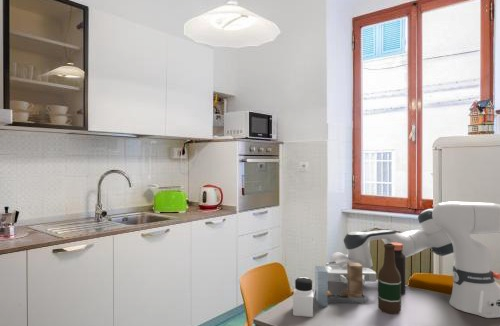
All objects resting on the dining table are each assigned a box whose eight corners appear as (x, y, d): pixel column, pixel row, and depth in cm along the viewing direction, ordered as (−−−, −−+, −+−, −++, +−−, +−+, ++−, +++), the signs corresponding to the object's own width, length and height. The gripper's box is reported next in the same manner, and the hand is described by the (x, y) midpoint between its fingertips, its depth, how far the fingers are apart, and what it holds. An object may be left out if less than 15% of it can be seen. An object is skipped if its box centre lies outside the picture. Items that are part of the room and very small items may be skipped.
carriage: (358, 293, 133) (358, 262, 133) (362, 297, 128) (362, 266, 128) (339, 293, 133) (339, 262, 133) (341, 297, 128) (341, 266, 128)
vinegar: (384, 289, 142) (384, 242, 142) (398, 288, 144) (397, 241, 144) (394, 295, 136) (394, 246, 136) (409, 294, 138) (409, 245, 138)
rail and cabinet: (362, 299, 132) (362, 266, 132) (368, 306, 125) (367, 272, 125) (314, 298, 133) (314, 265, 133) (318, 306, 126) (318, 271, 126)
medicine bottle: (313, 317, 117) (313, 283, 117) (292, 315, 118) (292, 281, 118) (313, 308, 124) (313, 276, 124) (294, 307, 125) (294, 275, 125)
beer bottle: (390, 316, 118) (390, 247, 118) (373, 308, 124) (373, 243, 124) (406, 312, 121) (405, 245, 121) (388, 304, 128) (388, 240, 128)
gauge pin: (329, 294, 132) (329, 290, 132) (330, 295, 130) (330, 291, 130) (316, 294, 132) (316, 290, 132) (317, 295, 130) (317, 291, 130)
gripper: (370, 277, 143) (382, 289, 130) (322, 277, 144) (328, 289, 130) (370, 262, 143) (382, 273, 130) (322, 262, 144) (328, 273, 130)
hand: (355, 281), depth 130 cm, fingers open, 4 cm apart
